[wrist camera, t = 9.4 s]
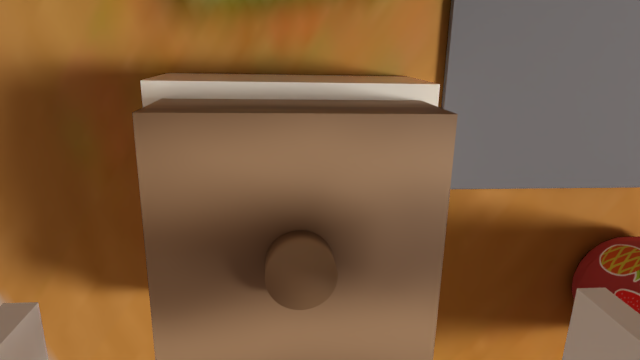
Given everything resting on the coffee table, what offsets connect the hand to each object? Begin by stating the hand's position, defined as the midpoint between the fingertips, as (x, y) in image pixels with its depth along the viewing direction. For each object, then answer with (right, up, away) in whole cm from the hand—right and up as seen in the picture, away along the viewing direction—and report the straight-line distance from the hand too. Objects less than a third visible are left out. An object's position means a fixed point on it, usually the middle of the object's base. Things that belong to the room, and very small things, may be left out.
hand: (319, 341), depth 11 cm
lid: (-1, +2, +9) cm, 9 cm away
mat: (+12, +9, +13) cm, 20 cm away
